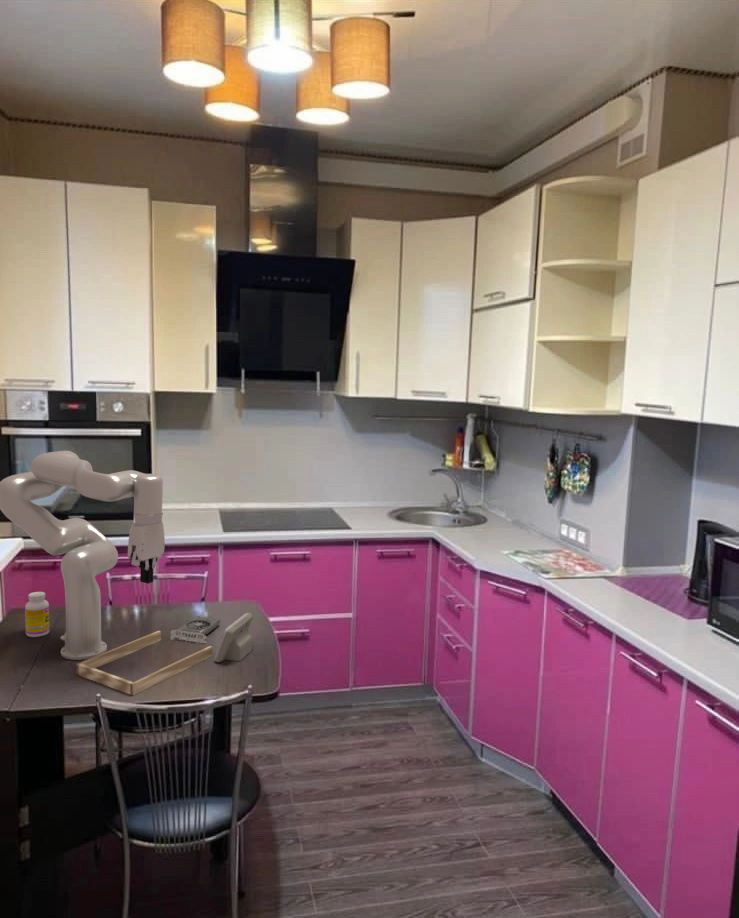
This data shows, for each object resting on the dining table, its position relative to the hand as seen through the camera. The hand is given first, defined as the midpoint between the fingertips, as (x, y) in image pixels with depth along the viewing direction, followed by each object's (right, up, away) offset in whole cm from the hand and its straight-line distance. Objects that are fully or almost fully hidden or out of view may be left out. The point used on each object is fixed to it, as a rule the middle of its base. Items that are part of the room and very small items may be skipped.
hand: (146, 581), depth 191 cm
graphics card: (+9, -22, +26) cm, 35 cm away
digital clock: (+22, -24, +11) cm, 35 cm away
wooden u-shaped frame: (0, -24, +1) cm, 24 cm away
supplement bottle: (-41, -20, +21) cm, 50 cm away
